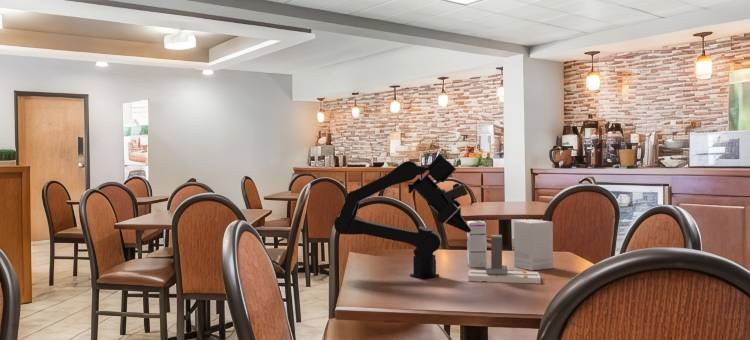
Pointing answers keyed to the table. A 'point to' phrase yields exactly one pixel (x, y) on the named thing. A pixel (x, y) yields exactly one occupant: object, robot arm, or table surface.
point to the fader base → (505, 276)
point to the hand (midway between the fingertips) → (470, 231)
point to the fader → (496, 256)
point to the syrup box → (476, 244)
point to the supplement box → (533, 244)
